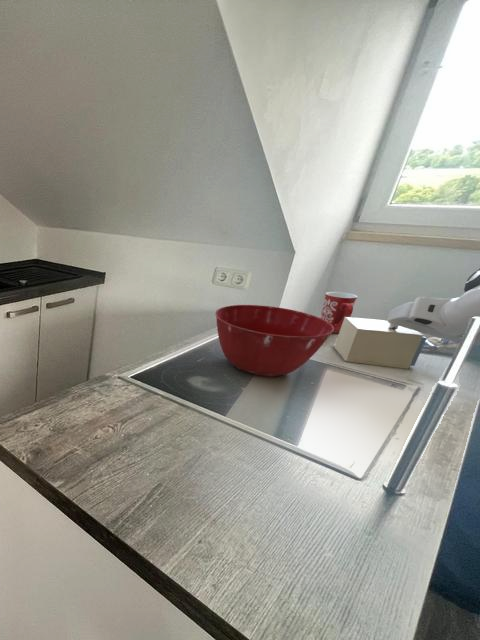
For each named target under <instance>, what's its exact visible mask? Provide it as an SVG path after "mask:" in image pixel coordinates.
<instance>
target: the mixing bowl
mask: <svg viewBox="0 0 480 640" xmlns="http://www.w3.org/2000/svg"><path fill="white" fill-rule="evenodd" d="M214 314H215V315H214V316H215V320H216V327H217V329H216V330H217V335H218V341H219V344H220V347H221V350H222V353H223V355H224V357H225V358H226V359H227V361H228V362H229V363H230V364H231V365H233V366H234V367H235V368H237V370H240V371H242V372H245V373H248V374H251V375H255V376H261V377H279V376H283V375H287V374H289V373H292V372H296V370H298V369H299V368H301V367H302V366H303V365H304V364H306V363H307V362H308V361H309V360H310V359H311V358H312V357H313V356H314V355H315V354H316V353H317V352H318V351H319V350H320V348H321V347H322V346H323V344H324V343H325V342H326V341H327V339H328V338H329V336H330V335H331V334H333V333H332V332H333V331H334V327H333V326H332V325H331V324H330V323H329V322H327V321H325V320H323V319H321V318H320V317H319V316H316V315H313V314H311V313H310V314H309V313H306V312H303V311H298V310H296V309H295V310H294V309H289V308H283V307H277V306H269V305H258V304H234V305H233V304H232V305H227V306H223V307H220V308H218V309H216V311H215V313H214Z"/></svg>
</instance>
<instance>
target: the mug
mask: <svg viewBox="0 0 480 640" xmlns="http://www.w3.org/2000/svg"><path fill="white" fill-rule="evenodd" d="M324 296H325V297H324V300H323V304H322V309H321V313H320V317H319V318H321V319H323V320H325V321H327V322H329V323H330V324H331V325H332V326H333V327H334V331H333V332H332V333H331V334H339V332H340V329H341V326H342V324H343V321H344V318H345V317H352V314H353V311H354V305H355V303H356V301H357V299H358V297H359V296H358V295H357V294H353V293H348V292H343V291H342V292H340V291H328V292H325V294H324Z"/></svg>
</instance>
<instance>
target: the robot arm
mask: <svg viewBox="0 0 480 640" xmlns="http://www.w3.org/2000/svg"><path fill="white" fill-rule="evenodd" d="M463 291H464V292H465V293H462V294H461V295H460V296H459V297H455V298H439V297H429V296H418V297H416V298H415V300H414V301H409V302H405V303H402V304H400V305H398V306H396V307H394V308H392V309H391V310H390V311H389V312H388V314H387V318H386V320H387V322H388V323H390V325H389V327H388V328H389V329H398V327H399V326H401V327H405V328H408V329H412V330H415V331H418V332H420V333H421V334H426V335H429V336H432V337H437V338H440V342H439V344H441V345H444V346H449V345H459V344H458V341H459V339H460V338H461V337H463V335H464V334H465V331H466V329H467V326H468V321H469V319H470V318H472V317H474V316H480V268H478V269H477V270H475V272H473V273H472V274H471V275H469V277H468V278H467V279H466V281H465V285H464V288H463ZM479 346H480V332H479V333H478V334H477V336H476V339H475V342H474V344H473V346H472V347H479Z"/></svg>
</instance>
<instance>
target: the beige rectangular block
mask: <svg viewBox="0 0 480 640" xmlns="http://www.w3.org/2000/svg"><path fill="white" fill-rule="evenodd" d="M389 325H390V323H388V322H387V319H386V320H385V319H374V318H362V317H352V316H350V317H345V318H344V321H343V324H342V326H341V329H340V332H339V333H338V335H337V338H336V341H335V344H334V349H335V350H336V352H337V353H338V354H339V355H340V356H341V357H342V359H343V360H344V361H345V362H347V363H348V362H349V363H357V364H364V365H373V366H374V365H375V366H383V367H389V368H397V369H406V370H409V368H410V367H411V366H410V364H411V362H412V360H413V358H414V355H415V353H416V351H417V349H418V346H419V344H420V342H421V340H422V337H423V336H424V333H422V332H418V331H415V330H412V329H408V328H405V327H401V326H399V327H398V329H389V328H388V327H389Z"/></svg>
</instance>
